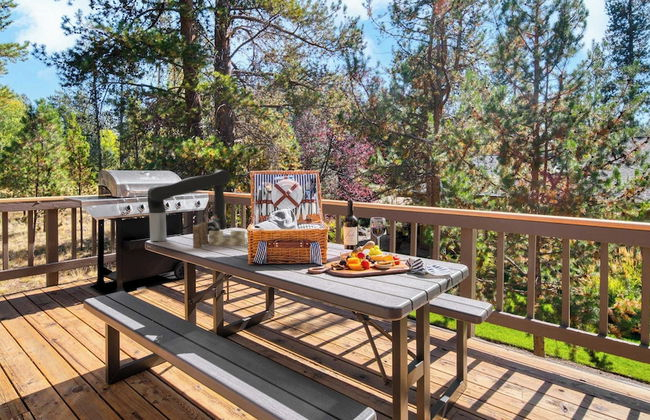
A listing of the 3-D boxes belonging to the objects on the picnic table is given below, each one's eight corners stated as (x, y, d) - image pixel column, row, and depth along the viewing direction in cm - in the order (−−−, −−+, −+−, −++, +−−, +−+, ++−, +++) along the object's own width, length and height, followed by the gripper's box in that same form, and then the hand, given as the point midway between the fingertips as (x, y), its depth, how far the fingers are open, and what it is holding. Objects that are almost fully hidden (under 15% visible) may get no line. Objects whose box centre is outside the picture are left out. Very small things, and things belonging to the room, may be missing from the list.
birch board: (209, 245, 240) (208, 231, 240) (210, 244, 243) (210, 230, 242) (244, 245, 240) (243, 231, 239) (244, 244, 243) (244, 230, 242)
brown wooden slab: (203, 242, 251) (202, 222, 249) (208, 242, 251) (207, 222, 249) (193, 247, 233) (192, 226, 232) (198, 247, 233) (198, 226, 231)
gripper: (199, 221, 263) (191, 224, 246) (222, 221, 262) (215, 225, 246) (200, 233, 263) (191, 237, 247) (222, 233, 263) (216, 237, 247)
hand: (203, 231), depth 247 cm, fingers open, 8 cm apart
